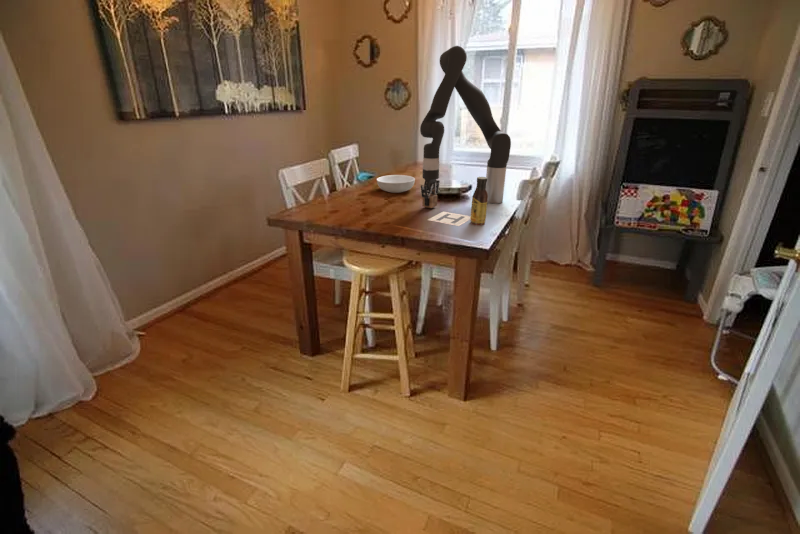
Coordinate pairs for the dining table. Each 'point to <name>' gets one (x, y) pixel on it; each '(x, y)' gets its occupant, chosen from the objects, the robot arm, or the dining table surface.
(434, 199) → the walnut block
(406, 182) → the serving bowl
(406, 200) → the dining table surface
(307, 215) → the dining table surface
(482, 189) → the sauce bottle
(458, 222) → the letter card
